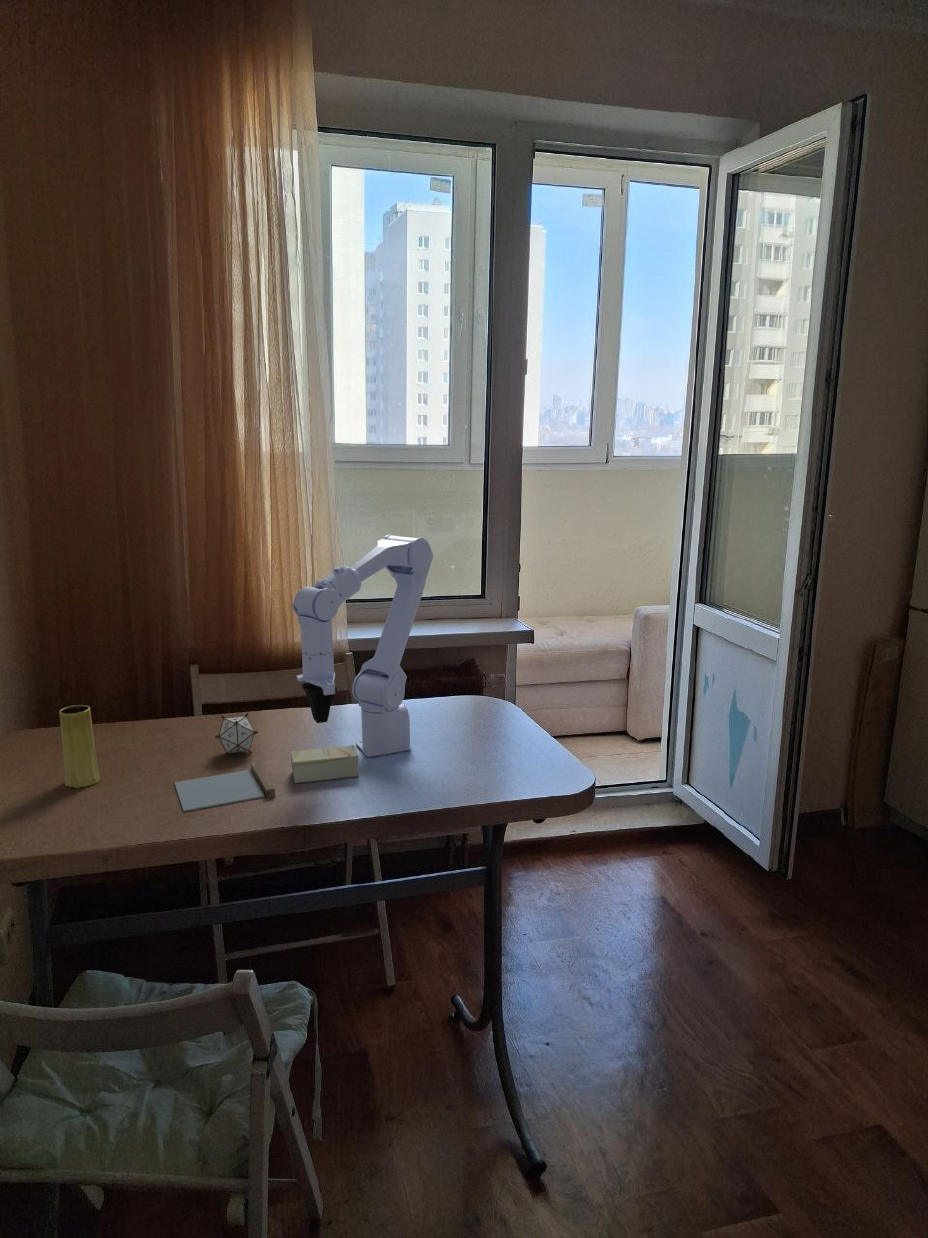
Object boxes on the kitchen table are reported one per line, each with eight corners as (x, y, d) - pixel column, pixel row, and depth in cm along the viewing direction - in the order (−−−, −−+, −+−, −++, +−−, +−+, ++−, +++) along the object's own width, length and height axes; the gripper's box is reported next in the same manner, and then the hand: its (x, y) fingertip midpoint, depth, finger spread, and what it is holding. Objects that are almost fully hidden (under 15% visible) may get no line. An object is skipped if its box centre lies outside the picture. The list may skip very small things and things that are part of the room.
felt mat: (250, 771, 167) (250, 769, 167) (264, 797, 155) (264, 795, 155) (174, 784, 161) (174, 782, 161) (183, 812, 150) (183, 810, 150)
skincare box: (290, 751, 166) (353, 743, 169) (291, 772, 167) (354, 764, 170) (293, 763, 160) (358, 754, 163) (294, 785, 161) (360, 776, 164)
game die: (243, 773, 175) (243, 746, 168) (206, 756, 176) (204, 729, 169) (265, 739, 181) (266, 712, 174) (229, 723, 182) (229, 696, 175)
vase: (107, 777, 164) (99, 705, 161) (83, 790, 159) (75, 716, 156) (81, 773, 166) (73, 702, 163) (57, 786, 161) (48, 712, 157)
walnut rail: (259, 768, 168) (258, 761, 168) (275, 796, 156) (274, 788, 155) (251, 770, 168) (250, 762, 167) (266, 798, 155) (266, 790, 155)
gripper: (286, 644, 166) (290, 712, 169) (306, 663, 153) (309, 736, 156) (322, 640, 169) (325, 707, 172) (345, 658, 156) (347, 730, 159)
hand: (320, 720), depth 164 cm, fingers closed
